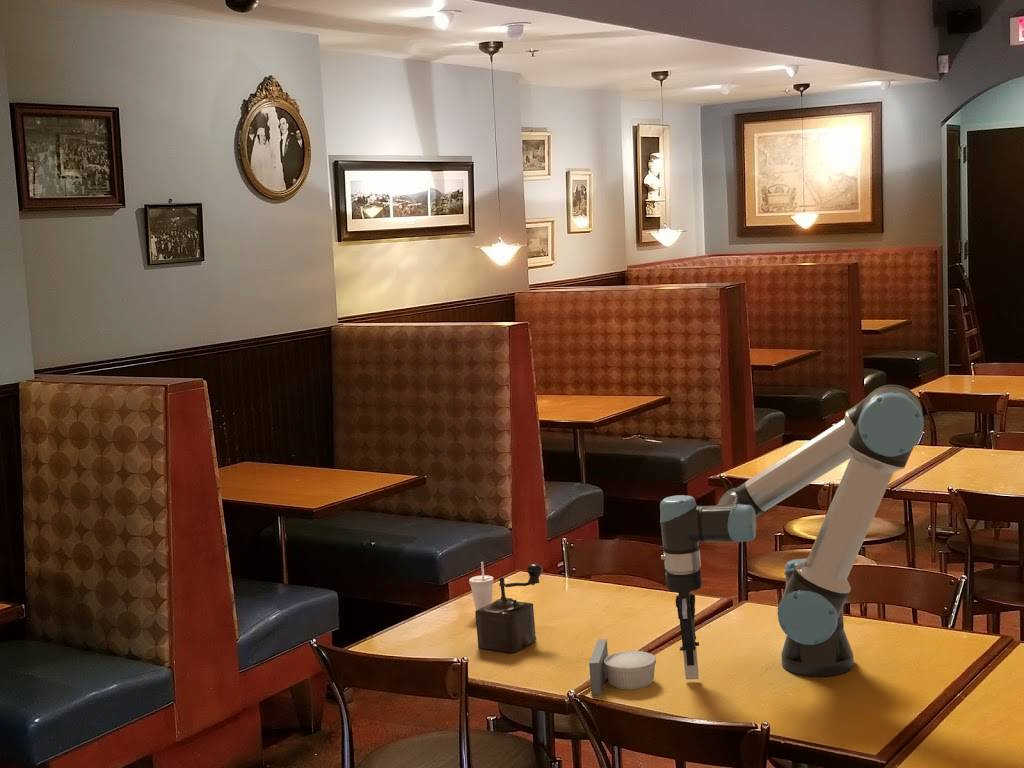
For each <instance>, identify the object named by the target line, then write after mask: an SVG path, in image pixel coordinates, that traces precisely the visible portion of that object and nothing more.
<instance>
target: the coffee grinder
mask: <svg viewBox="0 0 1024 768" xmlns="http://www.w3.org/2000/svg"><path fill="white" fill-rule="evenodd" d="M526 572H527V573H528V577H529V579H528V581H527V582H511V583H505V578H504V577H499V578H498V581H499V583H498V586H499V587H500V592H501V595H500V596H501V597H500V598H499V599H496V600H495V601H492V603H491V604H489V605H487V606H485V607H482V608H480V609H478V610H476V609H475V621H476V623H475V624H476V634H477V648H478V649H480V650H484V651H492V652H497V653H503V654H510V655H511V654H512V655H514V654H515V653H517V652H519V651H521V650H523V649H525V648H527V647H528V646H530V645H531V644H533V643H535V641H537V637H536V625H535V613H534V612H535V611H534V604H533V603H534V602H533V603H532V602H525V601H517V599H513V598H512V597H506V592H505V590H506V589H505V588H512V587H527V586H531V585H532V586H534V585H536V584H540V583H541V582H540V576H541V575H542V573H543V572H544V570H543V567H542V566H541V565H540V564H538V563H531V564H529V565H528V566H527V568H526Z"/></svg>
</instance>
